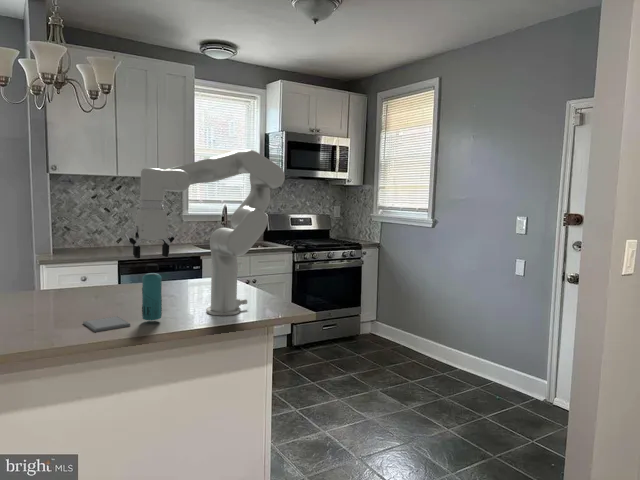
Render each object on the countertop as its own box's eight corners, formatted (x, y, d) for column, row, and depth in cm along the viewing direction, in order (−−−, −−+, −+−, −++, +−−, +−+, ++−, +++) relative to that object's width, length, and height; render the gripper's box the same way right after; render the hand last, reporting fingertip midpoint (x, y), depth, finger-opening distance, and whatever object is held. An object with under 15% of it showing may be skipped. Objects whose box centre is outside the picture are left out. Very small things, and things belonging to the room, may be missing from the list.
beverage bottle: (164, 319, 162) (165, 262, 160) (158, 325, 156) (159, 265, 154) (145, 319, 162) (145, 262, 160) (138, 324, 156) (138, 265, 153)
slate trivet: (117, 318, 161) (117, 316, 161) (130, 326, 153) (130, 323, 153) (83, 323, 154) (83, 321, 154) (95, 332, 146) (95, 329, 146)
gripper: (171, 205, 163) (170, 254, 165) (121, 204, 151) (120, 257, 153) (182, 207, 158) (180, 257, 160) (130, 205, 146) (130, 260, 148)
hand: (151, 257), depth 156 cm, fingers open, 9 cm apart
